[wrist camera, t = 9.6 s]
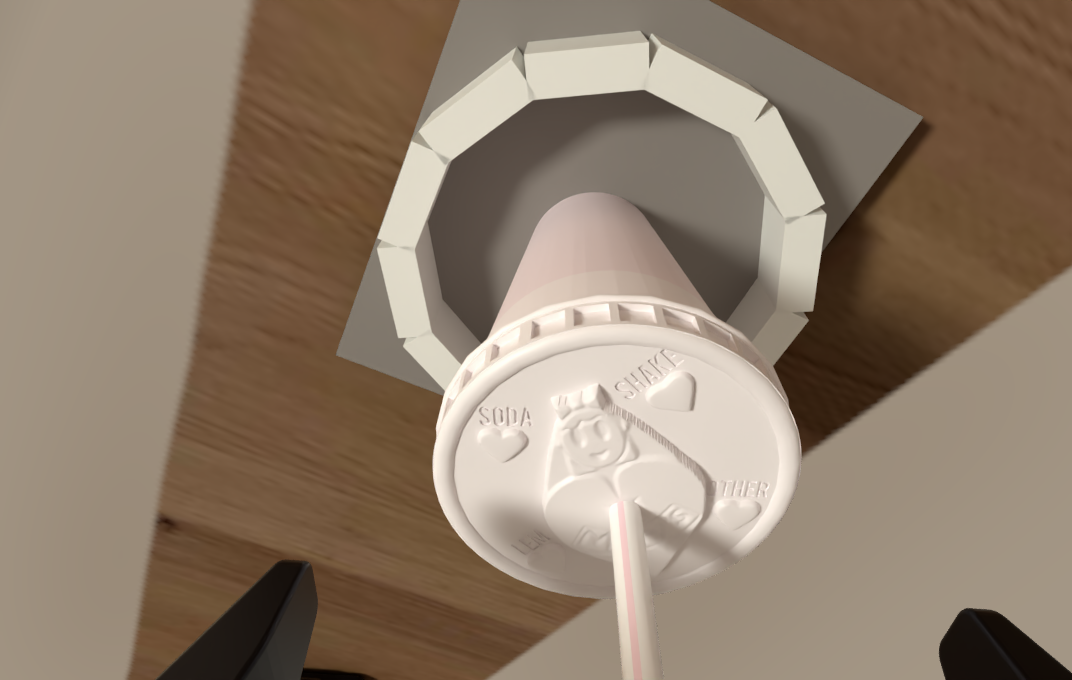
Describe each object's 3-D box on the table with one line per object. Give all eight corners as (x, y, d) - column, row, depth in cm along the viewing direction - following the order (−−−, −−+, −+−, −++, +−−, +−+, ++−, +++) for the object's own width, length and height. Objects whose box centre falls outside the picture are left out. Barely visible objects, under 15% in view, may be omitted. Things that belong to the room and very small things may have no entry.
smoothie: (532, 368, 22) (497, 893, 10) (447, 192, 19) (246, 646, 7) (725, 306, 20) (956, 835, 8) (666, 106, 17) (898, 489, 5)
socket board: (651, 460, 25) (660, 516, 22) (342, 342, 22) (316, 390, 20) (909, 110, 18) (962, 137, 16) (503, -111, 16) (492, -120, 13)
